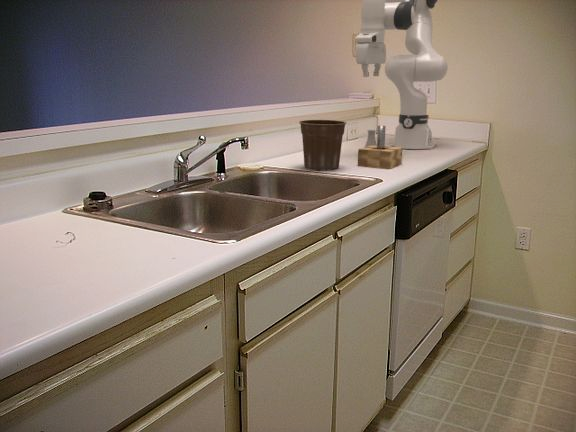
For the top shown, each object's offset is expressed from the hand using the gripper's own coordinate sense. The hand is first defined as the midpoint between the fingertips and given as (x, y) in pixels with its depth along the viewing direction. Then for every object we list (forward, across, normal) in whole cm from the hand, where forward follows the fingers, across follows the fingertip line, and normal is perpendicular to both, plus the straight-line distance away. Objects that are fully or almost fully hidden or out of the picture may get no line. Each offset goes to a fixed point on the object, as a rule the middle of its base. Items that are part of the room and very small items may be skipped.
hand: (371, 76), depth 215 cm
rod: (+30, +14, +11) cm, 35 cm away
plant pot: (+31, +30, -4) cm, 43 cm away
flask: (+31, -5, -1) cm, 31 cm away
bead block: (+30, +14, +11) cm, 35 cm away
